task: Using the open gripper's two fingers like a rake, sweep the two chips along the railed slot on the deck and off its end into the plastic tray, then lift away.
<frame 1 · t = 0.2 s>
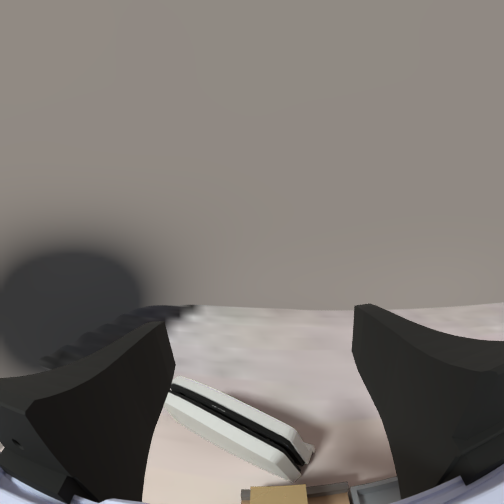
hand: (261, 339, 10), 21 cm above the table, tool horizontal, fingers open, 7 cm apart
light grey rounded slab: (234, 448, 27), on the table
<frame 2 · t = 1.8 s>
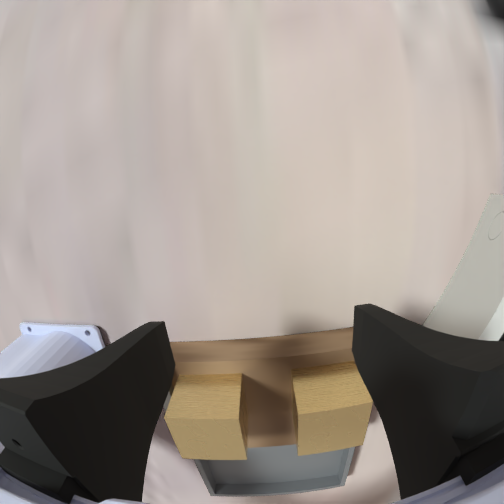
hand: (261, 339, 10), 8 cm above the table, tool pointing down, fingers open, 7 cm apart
tray: (275, 458, 23), on the table
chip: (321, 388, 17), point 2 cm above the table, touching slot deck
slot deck: (268, 387, 20), on the table
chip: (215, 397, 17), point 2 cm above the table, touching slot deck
light grey rounded slab: (452, 289, 18), on the table
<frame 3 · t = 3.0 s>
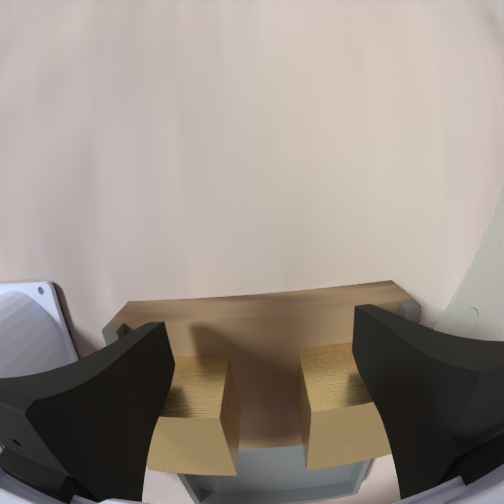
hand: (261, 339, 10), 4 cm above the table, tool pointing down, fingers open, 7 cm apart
tray: (273, 462, 18), on the table
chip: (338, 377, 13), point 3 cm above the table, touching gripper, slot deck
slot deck: (265, 367, 15), on the table
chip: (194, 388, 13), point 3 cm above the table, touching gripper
light grey rounded slab: (489, 242, 14), on the table
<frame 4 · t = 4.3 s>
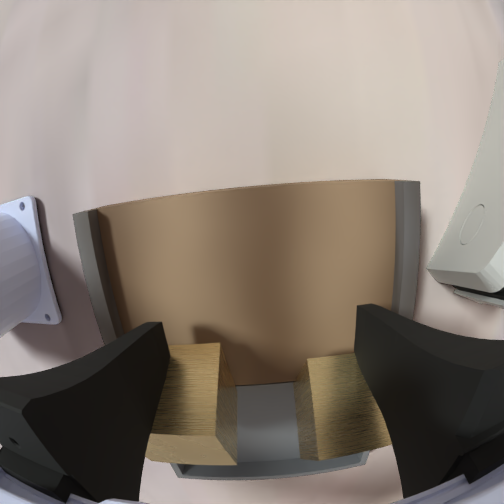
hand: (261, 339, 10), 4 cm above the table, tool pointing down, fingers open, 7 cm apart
tray: (266, 420, 17), on the table
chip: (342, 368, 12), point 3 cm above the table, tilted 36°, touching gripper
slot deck: (253, 279, 14), on the table
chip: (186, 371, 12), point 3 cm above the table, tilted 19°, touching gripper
light grey rounded slab: (485, 160, 13), on the table
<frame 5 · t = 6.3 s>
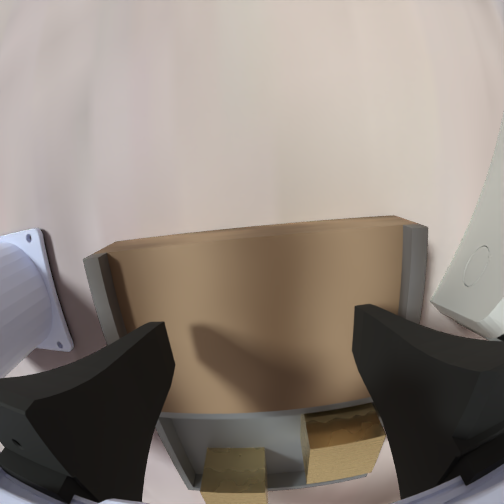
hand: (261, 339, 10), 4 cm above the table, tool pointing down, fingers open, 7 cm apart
tray: (273, 437, 17), on the table
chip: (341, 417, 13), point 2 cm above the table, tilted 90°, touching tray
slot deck: (261, 314, 15), on the table
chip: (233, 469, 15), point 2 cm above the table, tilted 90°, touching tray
light grey rounded slab: (491, 189, 13), on the table
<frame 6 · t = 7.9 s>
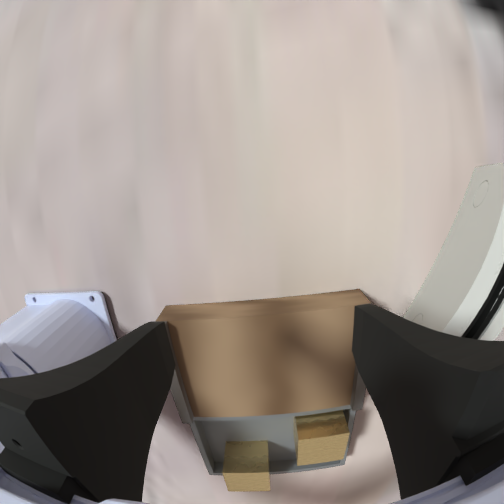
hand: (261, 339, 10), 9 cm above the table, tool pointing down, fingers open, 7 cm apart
tray: (274, 433, 24), on the table
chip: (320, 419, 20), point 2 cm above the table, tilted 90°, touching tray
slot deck: (267, 352, 21), on the table
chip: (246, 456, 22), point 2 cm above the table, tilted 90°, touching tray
light grey rounded slab: (444, 260, 20), on the table
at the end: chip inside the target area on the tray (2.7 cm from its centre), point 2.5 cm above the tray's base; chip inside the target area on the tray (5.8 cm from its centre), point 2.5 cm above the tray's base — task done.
